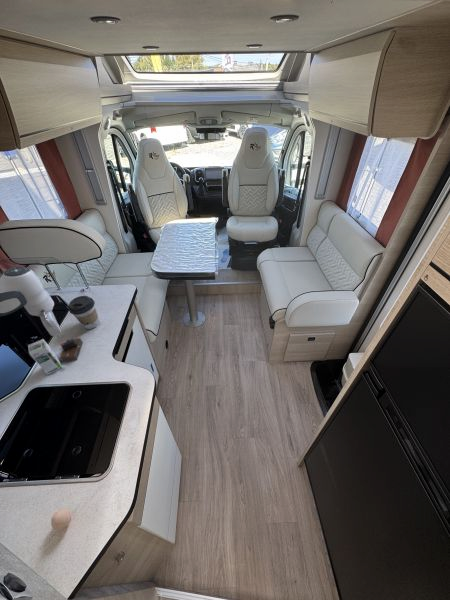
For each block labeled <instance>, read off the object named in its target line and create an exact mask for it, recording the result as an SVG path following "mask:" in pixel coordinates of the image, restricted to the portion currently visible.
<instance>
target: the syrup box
mask: <svg viewBox="0 0 450 600" xmlns="http://www.w3.org/2000/svg"><path fill="white" fill-rule="evenodd" d="M27 347H28V354H29V356H30V357H31V358H32V359H33V360H34V361H35V363H37V364H38V366H39V367H40V368H41V369H42V370H43V371H44V372H45V374H46V375H48V376H49V375H51V374H52V373H55V372H57V371H59V370H60V369H62V368H63V367H62V363H61V359H60V357H58V355H57V354H56V353H55V352H54V350H53V349H52V348H51V346H50V345H49V344H48V342H47V341H46V340H45V339H44V338H42V339H40V340H37V341H35V342H33V343H29V344H28V345H27Z"/></svg>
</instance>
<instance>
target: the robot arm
mask: <svg viewBox="0 0 450 600" xmlns="http://www.w3.org/2000/svg"><path fill="white" fill-rule="evenodd" d="M54 306H55V302H54V300H53V298H52V297H51V295H50V294H49V292H48V291H47V290H46V289H45V288H44V284H43V282H42V281H41V280H40V278H39V277H38V276H37V274H36V273H35V272H34V271H33V270H32V269H30V268H29V267H26V266H13V267H10V268H7V269H5V270H4V271H3V273H2V274H0V317H5V316H8V315H11V314H13V313H15V312H17V311H18V310H20V309H22V308H24V309H25V310H26V312H27V313H28V314H29V315H30V316H33V317H35V316H36V317H39V318H40V320H41V323H42V325H43V327H44V329H46V331H47V332H48V334H49V335H50V336H51V337H55V336H56V337H57V338H59V337H61V336H63V335H62V329H61V327H60V325H59V323H58V321H57V318H56V316H55V314H54V312H53V309H54Z"/></svg>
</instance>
